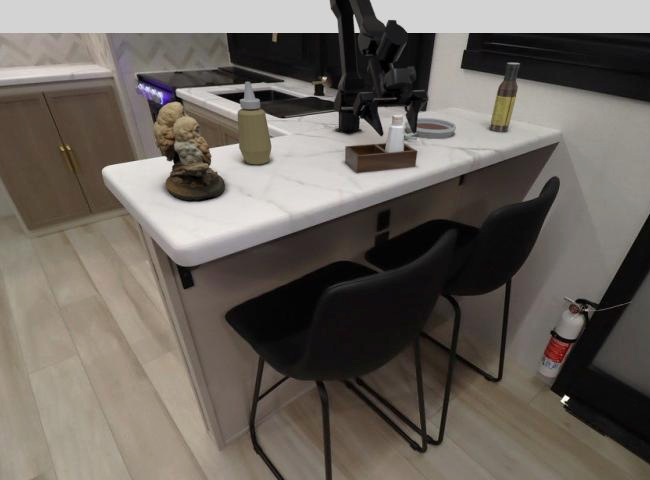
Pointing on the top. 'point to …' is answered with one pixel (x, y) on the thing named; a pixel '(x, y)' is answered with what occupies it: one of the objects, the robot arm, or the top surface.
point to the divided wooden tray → (378, 157)
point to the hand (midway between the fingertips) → (398, 134)
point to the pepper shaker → (395, 135)
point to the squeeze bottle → (253, 129)
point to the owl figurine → (186, 155)
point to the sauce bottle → (505, 99)
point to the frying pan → (431, 128)
